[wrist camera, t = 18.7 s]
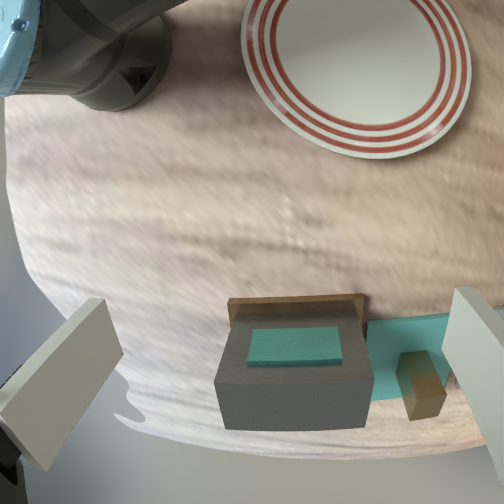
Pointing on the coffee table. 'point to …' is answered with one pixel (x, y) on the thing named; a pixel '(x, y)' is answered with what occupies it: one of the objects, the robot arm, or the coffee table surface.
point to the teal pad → (403, 348)
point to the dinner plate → (359, 71)
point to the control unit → (295, 364)
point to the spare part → (420, 385)
